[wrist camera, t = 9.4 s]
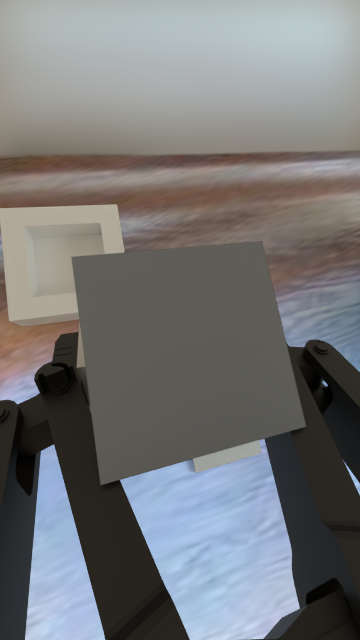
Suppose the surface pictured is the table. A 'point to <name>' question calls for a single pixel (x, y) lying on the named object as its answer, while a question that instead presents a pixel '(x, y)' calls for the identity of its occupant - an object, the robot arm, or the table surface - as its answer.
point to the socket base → (52, 257)
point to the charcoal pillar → (182, 354)
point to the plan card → (226, 456)
